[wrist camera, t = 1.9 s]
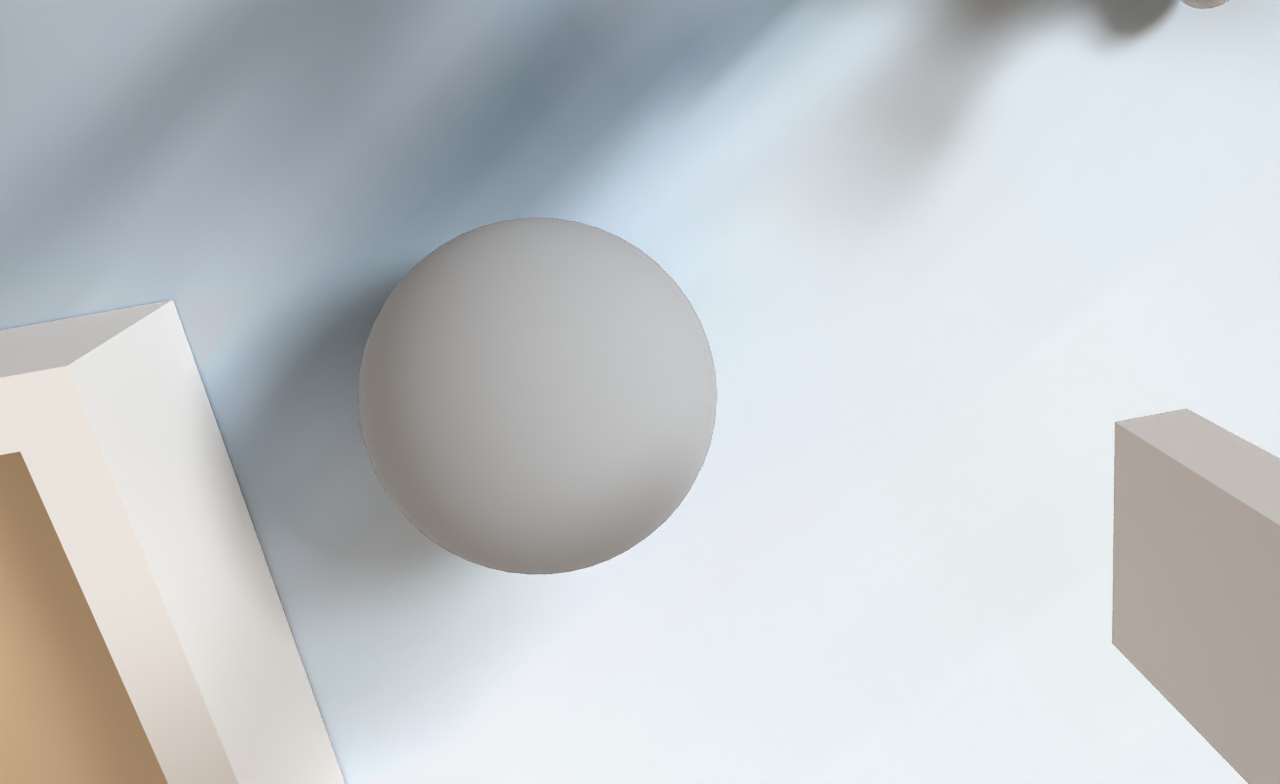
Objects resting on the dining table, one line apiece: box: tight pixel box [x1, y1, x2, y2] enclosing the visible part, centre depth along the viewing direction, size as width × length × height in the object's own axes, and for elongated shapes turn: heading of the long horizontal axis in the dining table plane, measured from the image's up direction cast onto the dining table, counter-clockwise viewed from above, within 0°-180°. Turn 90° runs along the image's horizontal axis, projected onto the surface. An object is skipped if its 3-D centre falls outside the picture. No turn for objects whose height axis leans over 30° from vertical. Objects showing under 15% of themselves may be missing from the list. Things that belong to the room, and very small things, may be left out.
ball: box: [358, 218, 717, 574], centre depth 16 cm, size 6×6×6 cm
